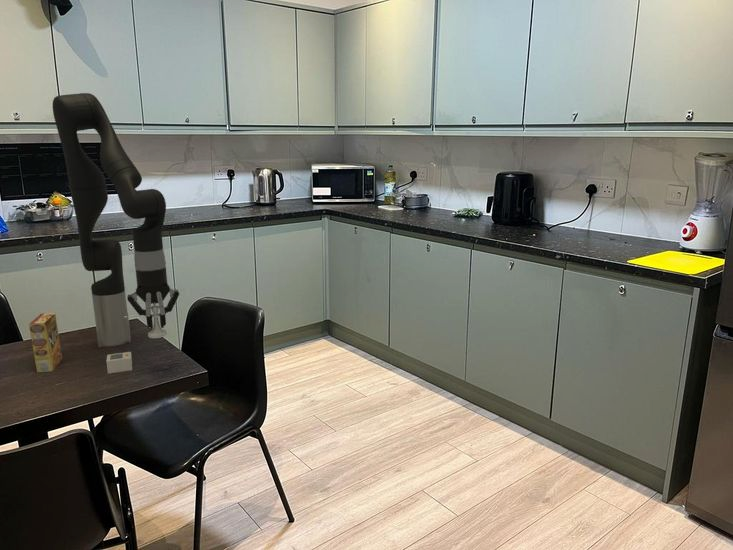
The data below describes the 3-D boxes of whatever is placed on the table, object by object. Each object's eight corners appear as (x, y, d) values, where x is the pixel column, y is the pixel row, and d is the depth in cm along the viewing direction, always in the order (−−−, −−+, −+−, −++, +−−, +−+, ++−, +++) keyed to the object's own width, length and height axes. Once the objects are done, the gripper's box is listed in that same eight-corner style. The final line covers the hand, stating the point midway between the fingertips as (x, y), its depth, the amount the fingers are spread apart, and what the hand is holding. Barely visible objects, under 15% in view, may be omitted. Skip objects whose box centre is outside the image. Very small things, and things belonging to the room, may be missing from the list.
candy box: (53, 375, 148) (45, 322, 145) (36, 377, 147) (28, 323, 144) (63, 363, 157) (56, 312, 153) (47, 364, 156) (39, 313, 152)
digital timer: (132, 363, 153) (130, 350, 152) (132, 370, 148) (130, 357, 148) (108, 366, 151) (107, 354, 150) (107, 373, 146) (106, 360, 145)
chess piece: (162, 330, 152) (158, 296, 150) (170, 334, 149) (167, 299, 146) (144, 334, 149) (141, 299, 146) (152, 339, 146) (149, 304, 143)
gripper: (176, 260, 150) (182, 320, 154) (122, 265, 145) (129, 326, 149) (179, 266, 143) (184, 328, 148) (122, 271, 138) (129, 336, 142)
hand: (156, 327), depth 148 cm, fingers closed on chess piece
